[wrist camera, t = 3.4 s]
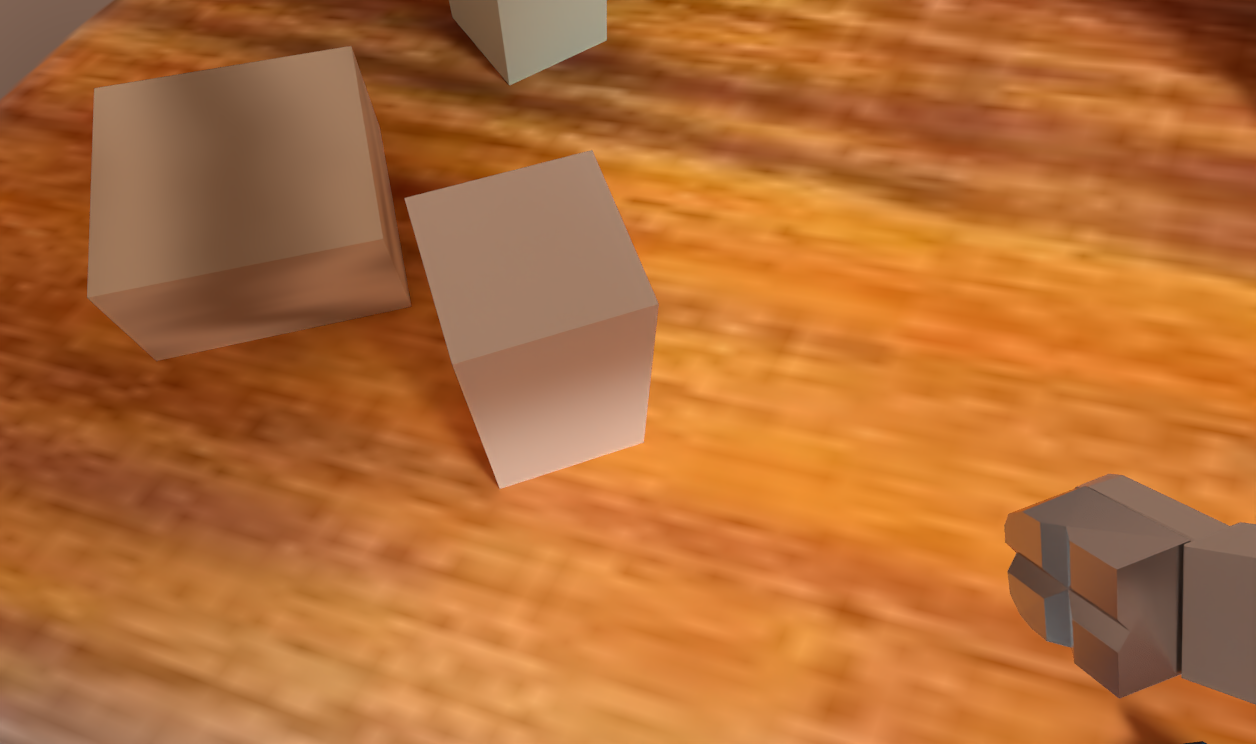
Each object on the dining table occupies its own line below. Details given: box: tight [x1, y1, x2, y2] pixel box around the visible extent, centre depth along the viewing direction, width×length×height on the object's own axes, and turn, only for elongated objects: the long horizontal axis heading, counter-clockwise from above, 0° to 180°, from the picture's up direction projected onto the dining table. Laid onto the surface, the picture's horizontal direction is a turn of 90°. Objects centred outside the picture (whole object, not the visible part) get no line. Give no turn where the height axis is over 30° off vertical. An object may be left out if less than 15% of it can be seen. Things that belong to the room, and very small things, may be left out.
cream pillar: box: [404, 150, 659, 489], centre depth 21 cm, size 4×4×8 cm
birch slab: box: [87, 46, 412, 361], centre depth 26 cm, size 8×8×4 cm
